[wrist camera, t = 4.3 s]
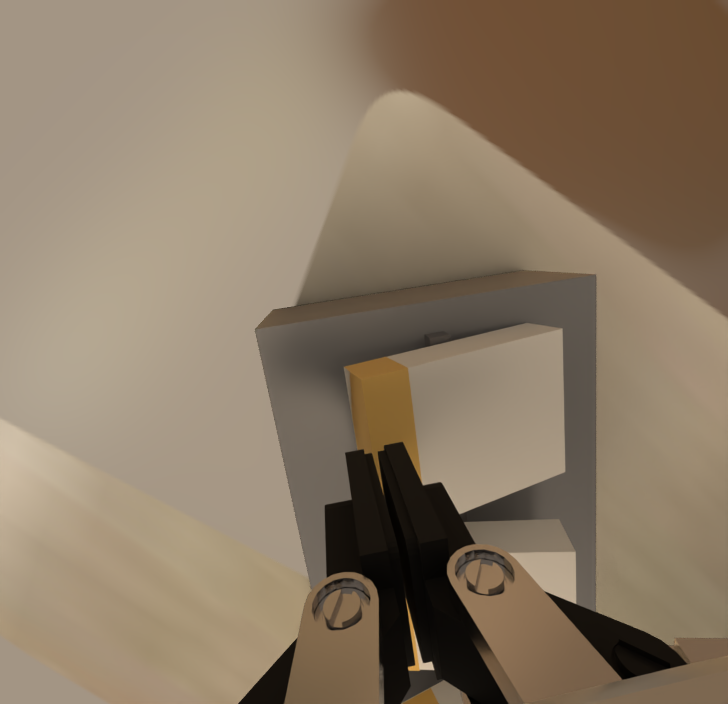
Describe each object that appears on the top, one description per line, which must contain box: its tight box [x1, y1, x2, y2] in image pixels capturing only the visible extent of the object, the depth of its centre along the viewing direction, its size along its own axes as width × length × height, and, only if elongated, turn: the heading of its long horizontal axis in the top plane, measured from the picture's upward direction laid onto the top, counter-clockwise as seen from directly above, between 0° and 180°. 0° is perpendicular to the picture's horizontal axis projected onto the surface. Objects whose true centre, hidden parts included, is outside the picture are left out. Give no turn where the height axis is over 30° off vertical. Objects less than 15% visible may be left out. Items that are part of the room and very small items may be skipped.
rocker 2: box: [406, 519, 576, 671], centre depth 17 cm, size 8×6×2 cm
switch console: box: [255, 270, 596, 703], centre depth 21 cm, size 14×25×7 cm, turn 8°
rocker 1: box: [344, 323, 565, 514], centre depth 15 cm, size 8×6×2 cm
